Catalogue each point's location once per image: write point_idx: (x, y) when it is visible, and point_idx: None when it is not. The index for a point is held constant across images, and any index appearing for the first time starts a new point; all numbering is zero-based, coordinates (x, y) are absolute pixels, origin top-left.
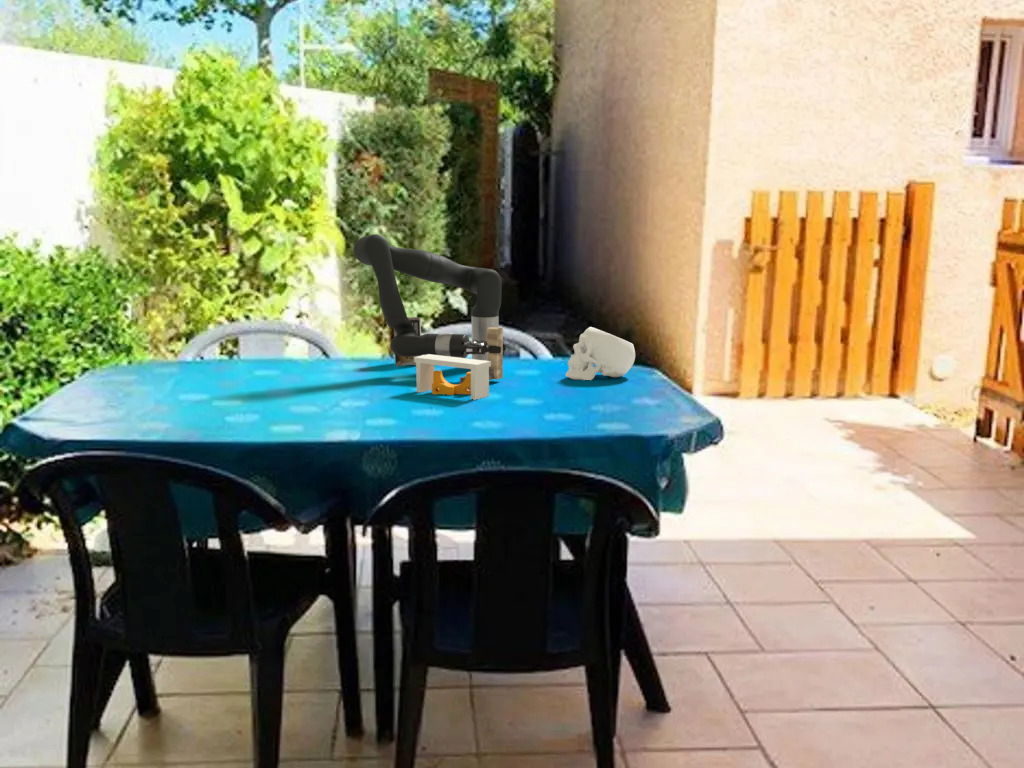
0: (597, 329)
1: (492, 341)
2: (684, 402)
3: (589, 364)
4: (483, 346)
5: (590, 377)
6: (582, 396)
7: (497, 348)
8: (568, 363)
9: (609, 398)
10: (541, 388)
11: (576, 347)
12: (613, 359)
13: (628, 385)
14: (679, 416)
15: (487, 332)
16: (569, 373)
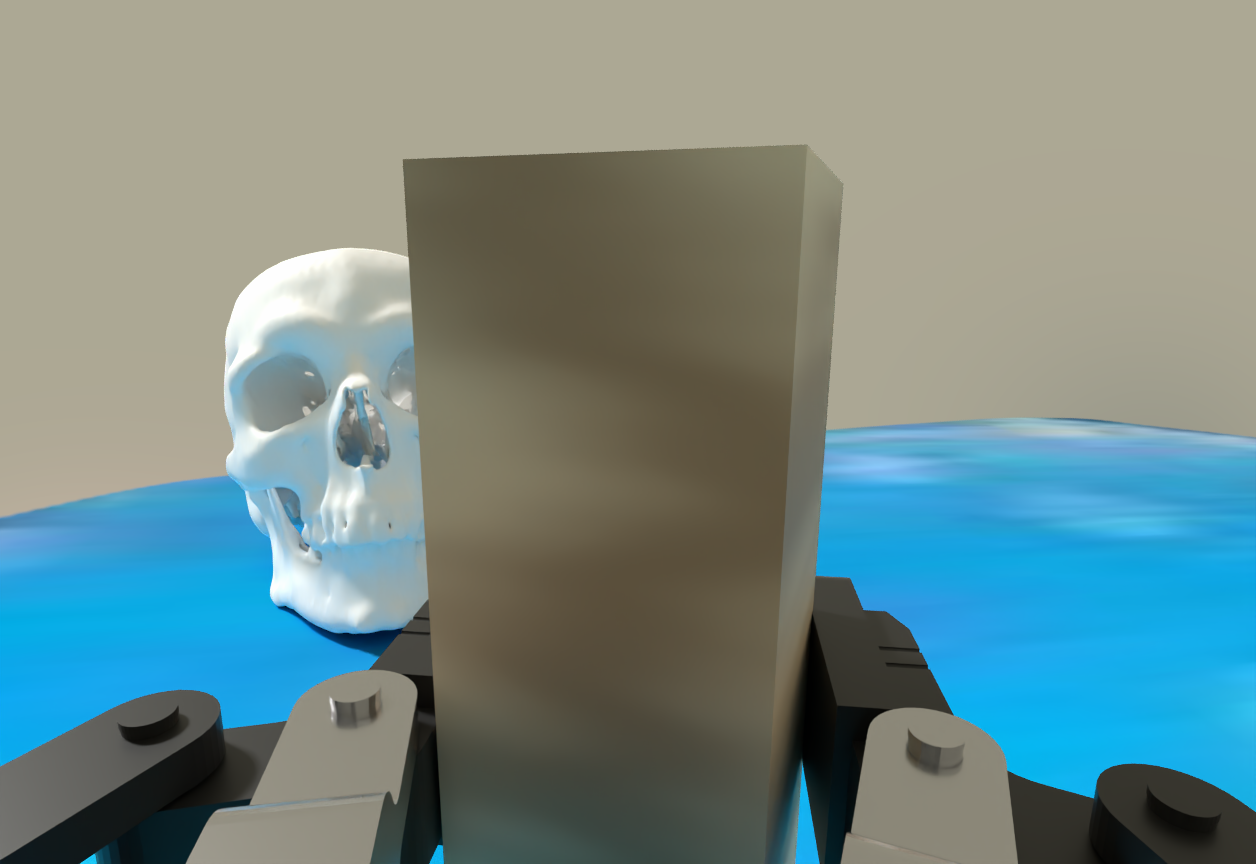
0: (408, 258)
1: (807, 563)
2: (835, 435)
3: None
4: (1219, 795)
5: None
6: (936, 565)
7: (897, 630)
8: (387, 532)
9: (905, 514)
10: None
11: (380, 400)
12: None
13: None
14: (1036, 437)
15: (802, 332)
16: (410, 596)
